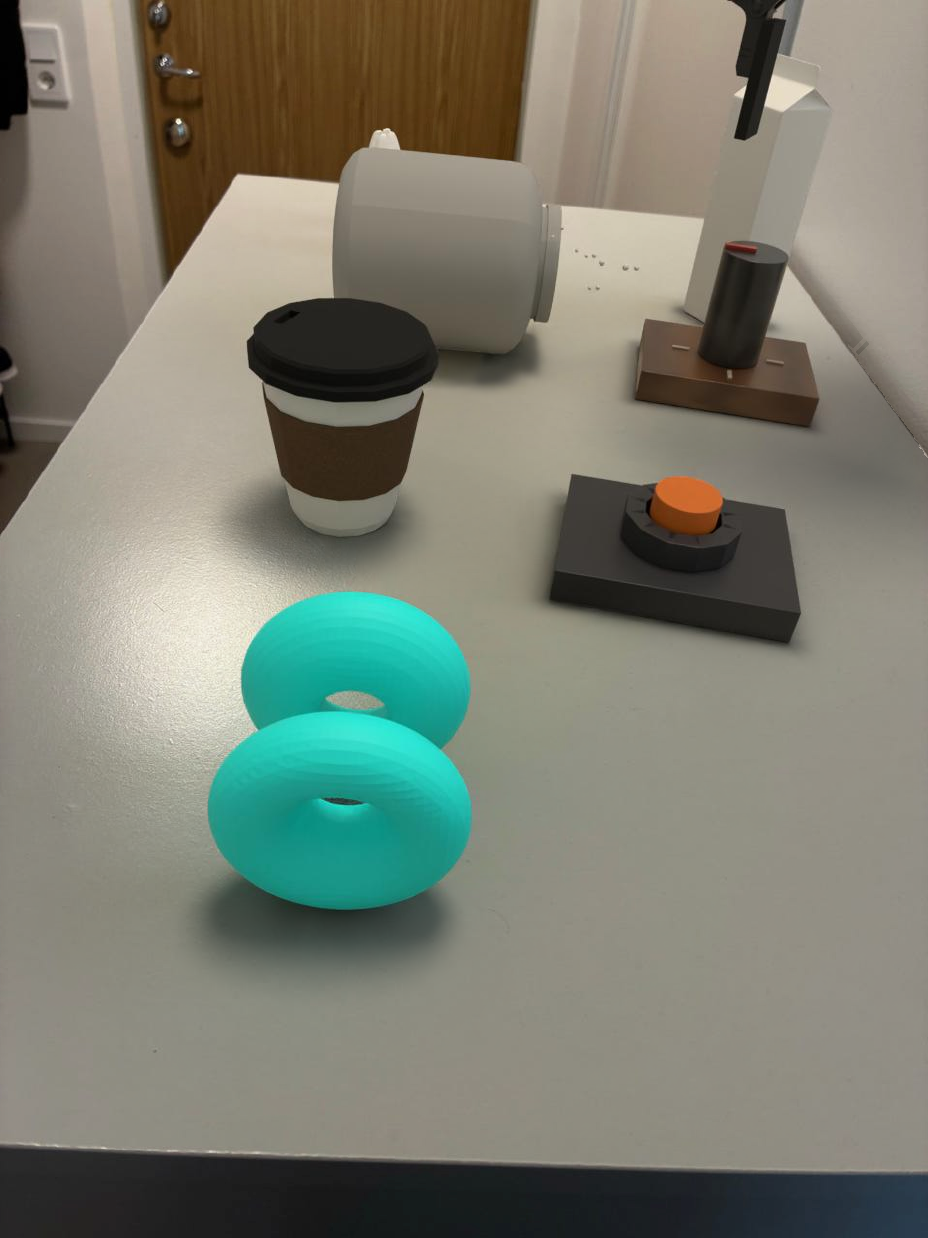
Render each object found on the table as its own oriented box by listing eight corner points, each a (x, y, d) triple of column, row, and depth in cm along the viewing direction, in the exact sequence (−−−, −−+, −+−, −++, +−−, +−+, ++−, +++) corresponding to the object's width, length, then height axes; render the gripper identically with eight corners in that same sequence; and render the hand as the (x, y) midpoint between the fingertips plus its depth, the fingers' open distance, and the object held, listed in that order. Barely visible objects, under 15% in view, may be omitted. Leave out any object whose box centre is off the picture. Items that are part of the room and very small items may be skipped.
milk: (722, 335, 89) (794, 67, 74) (681, 310, 93) (741, 51, 78) (770, 326, 91) (848, 65, 77) (728, 302, 95) (794, 49, 81)
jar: (376, 223, 90) (645, 223, 85) (362, 378, 89) (632, 386, 84) (308, 108, 71) (647, 99, 66) (290, 302, 71) (630, 307, 66)
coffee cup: (222, 529, 58) (204, 344, 51) (309, 450, 66) (305, 280, 59) (383, 580, 56) (390, 393, 48) (453, 492, 64) (469, 319, 56)
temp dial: (756, 347, 80) (787, 242, 75) (759, 372, 77) (793, 263, 71) (697, 338, 81) (723, 232, 75) (697, 362, 77) (726, 253, 71)
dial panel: (797, 369, 84) (806, 340, 82) (809, 426, 76) (820, 396, 74) (639, 344, 85) (645, 316, 83) (635, 399, 77) (641, 368, 75)
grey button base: (775, 536, 63) (793, 485, 60) (789, 642, 55) (811, 587, 52) (566, 501, 64) (575, 449, 62) (548, 599, 56) (559, 544, 53)
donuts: (212, 918, 38) (186, 750, 32) (254, 734, 46) (240, 569, 39) (460, 929, 39) (484, 766, 32) (460, 746, 46) (480, 585, 40)
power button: (714, 506, 58) (722, 481, 57) (716, 542, 55) (724, 517, 54) (650, 495, 59) (656, 471, 58) (648, 531, 56) (654, 505, 55)
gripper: (730, -331, 48) (644, 127, 62) (1301, -308, 40) (1055, 218, 53) (772, -309, 53) (684, 110, 67) (1285, -284, 45) (1064, 190, 58)
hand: (848, 159), depth 60 cm, fingers open, 13 cm apart
